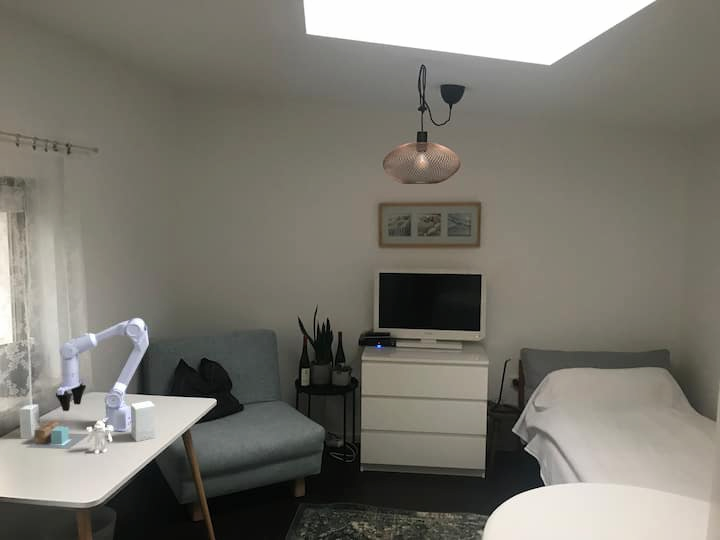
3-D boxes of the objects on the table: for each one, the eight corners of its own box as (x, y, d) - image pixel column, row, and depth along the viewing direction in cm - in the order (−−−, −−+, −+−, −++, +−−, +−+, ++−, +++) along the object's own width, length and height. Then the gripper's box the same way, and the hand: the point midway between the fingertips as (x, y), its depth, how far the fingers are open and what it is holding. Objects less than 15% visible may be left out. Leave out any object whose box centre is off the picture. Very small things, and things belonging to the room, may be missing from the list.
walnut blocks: (59, 435, 216) (58, 422, 216) (45, 443, 208) (44, 430, 207) (49, 434, 216) (48, 421, 216) (34, 443, 208) (34, 430, 208)
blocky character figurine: (114, 448, 207) (113, 415, 206) (113, 452, 203) (112, 419, 202) (87, 451, 204) (86, 418, 203) (85, 455, 201) (84, 422, 199)
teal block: (68, 440, 211) (67, 426, 211) (61, 444, 207) (61, 430, 207) (58, 439, 212) (57, 426, 211) (51, 443, 208) (50, 430, 207)
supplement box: (156, 438, 217) (155, 405, 216) (135, 442, 213) (134, 409, 212) (151, 431, 223) (150, 400, 222) (131, 435, 219) (130, 403, 218)
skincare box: (32, 441, 213) (30, 409, 212) (20, 441, 213) (18, 409, 212) (40, 434, 219) (39, 404, 218) (28, 434, 219) (27, 404, 218)
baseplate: (90, 436, 217) (90, 433, 217) (68, 451, 204) (68, 448, 203) (50, 435, 219) (49, 432, 219) (26, 449, 205) (25, 446, 205)
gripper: (71, 367, 229) (72, 401, 230) (48, 378, 214) (50, 413, 215) (88, 368, 228) (89, 401, 229) (67, 378, 214) (68, 414, 215)
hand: (71, 407), depth 222 cm, fingers open, 7 cm apart
